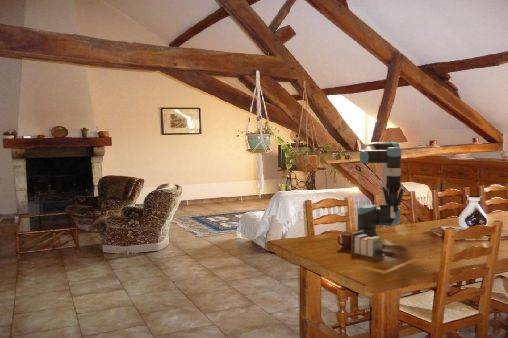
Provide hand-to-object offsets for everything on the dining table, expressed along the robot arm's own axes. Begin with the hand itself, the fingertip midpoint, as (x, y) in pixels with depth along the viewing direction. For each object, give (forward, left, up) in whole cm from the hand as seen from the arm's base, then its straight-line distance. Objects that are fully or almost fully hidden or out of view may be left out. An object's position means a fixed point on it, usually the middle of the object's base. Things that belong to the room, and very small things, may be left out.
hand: (392, 217), depth 255 cm
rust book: (-13, -4, -22) cm, 26 cm away
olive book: (-9, -4, -22) cm, 24 cm away
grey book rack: (-8, -4, -24) cm, 25 cm away
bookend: (-5, -4, -22) cm, 23 cm away
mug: (-30, -2, -24) cm, 38 cm away
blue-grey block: (-17, -4, -22) cm, 29 cm away
